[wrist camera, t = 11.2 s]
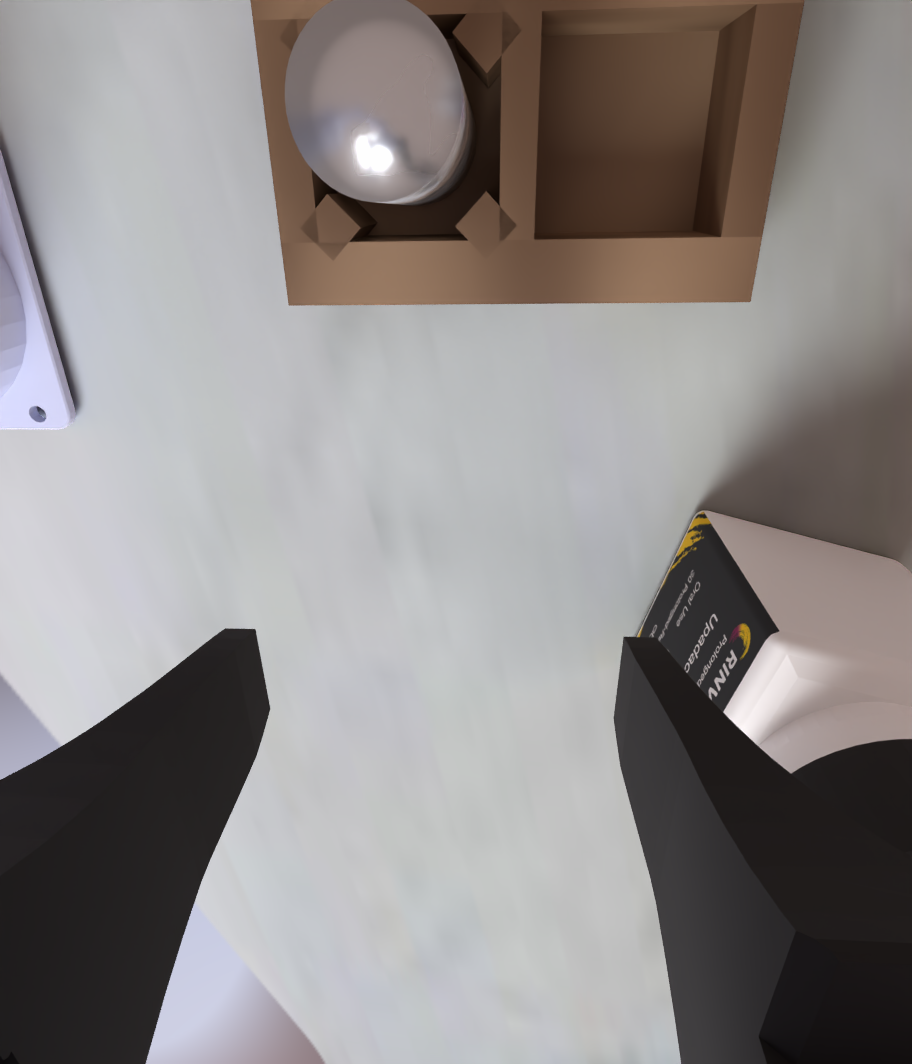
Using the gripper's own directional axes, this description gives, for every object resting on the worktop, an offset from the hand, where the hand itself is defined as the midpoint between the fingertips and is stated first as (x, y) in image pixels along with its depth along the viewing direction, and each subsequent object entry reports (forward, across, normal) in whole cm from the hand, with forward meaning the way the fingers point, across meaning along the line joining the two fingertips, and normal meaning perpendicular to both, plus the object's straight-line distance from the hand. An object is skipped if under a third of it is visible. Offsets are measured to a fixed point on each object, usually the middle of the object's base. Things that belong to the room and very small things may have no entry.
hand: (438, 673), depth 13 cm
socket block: (+9, -2, -10) cm, 13 cm away
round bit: (+9, +1, -10) cm, 13 cm away
